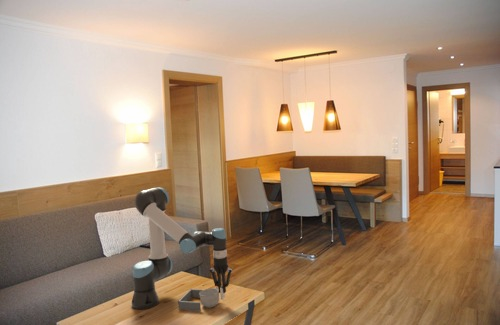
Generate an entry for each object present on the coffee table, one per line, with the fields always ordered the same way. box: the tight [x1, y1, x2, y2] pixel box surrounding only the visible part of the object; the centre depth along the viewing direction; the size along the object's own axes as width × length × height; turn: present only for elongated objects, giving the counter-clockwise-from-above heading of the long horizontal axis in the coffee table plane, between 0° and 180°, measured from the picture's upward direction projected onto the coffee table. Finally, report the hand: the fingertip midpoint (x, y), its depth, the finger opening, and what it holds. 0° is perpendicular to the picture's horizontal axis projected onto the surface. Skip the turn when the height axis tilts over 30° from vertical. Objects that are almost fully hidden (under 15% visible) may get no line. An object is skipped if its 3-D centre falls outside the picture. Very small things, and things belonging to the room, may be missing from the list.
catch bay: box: [177, 288, 203, 312], centre depth 230 cm, size 13×18×4 cm
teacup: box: [199, 286, 220, 309], centre depth 227 cm, size 14×11×8 cm
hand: (222, 298), depth 225 cm, fingers closed
